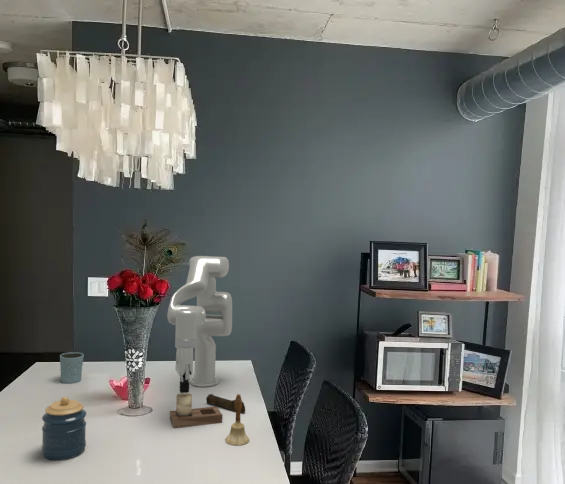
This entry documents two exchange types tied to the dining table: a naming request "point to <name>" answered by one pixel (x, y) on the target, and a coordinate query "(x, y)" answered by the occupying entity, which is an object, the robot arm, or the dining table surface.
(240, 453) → the dining table surface
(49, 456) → the canister
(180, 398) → the oak peg
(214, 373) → the robot arm
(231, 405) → the hand tool
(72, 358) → the grey embossed cup
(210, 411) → the walnut board
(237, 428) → the hand bell
